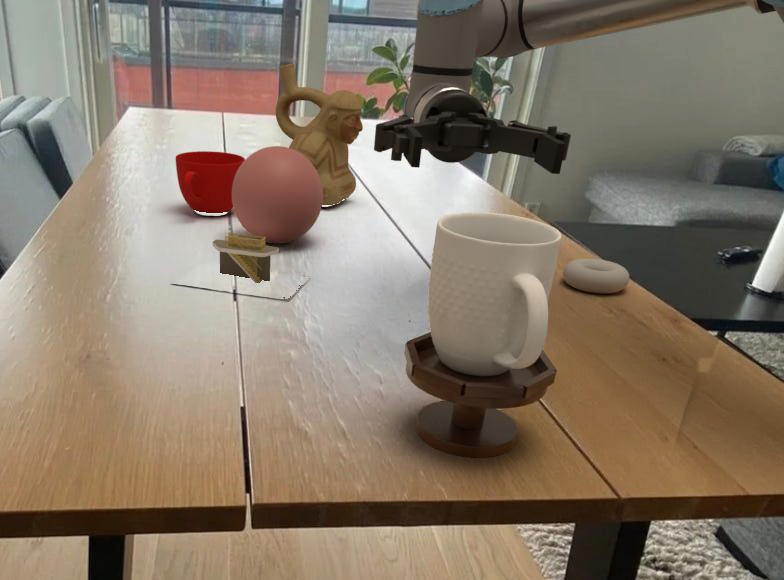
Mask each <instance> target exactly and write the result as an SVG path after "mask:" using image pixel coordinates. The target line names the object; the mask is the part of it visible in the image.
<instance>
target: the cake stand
mask: <svg viewBox="0 0 784 580" xmlns="http://www.w3.org/2000/svg"><path fill="white" fill-rule="evenodd" d="M403 353H404V354H403V355H404V357H405V361H406V364H405V374H406V375H407V378H408V380H409V381H410V383H412V384H413V385H414V386H415V387H417V388H418V390H421V391H422V392H424V393H426V394H428V395H430V396H433V397H434V398H436V399H439V401H435V402H431V403H428V404H426V405H425V406H423V407H422V408H421V409H419V411H418V414H417V417H416V425H415V430H416V432H417V435H418V436H419V438H421V440H422V441H424V442H425V443H426V444H428V445H429V446H430V447H433V448H434V449H436V450H439V451H441V452H444V453H447V454H451V455H454V456H459V457H466V458H490V457H496V456H501V455H503V454H505V453H507V452H509V451H510V450H511V449H512V448H513V447H514V445H515V443H516V439H517V435H518V426H517V424H516V422H515V421H514V419H512V418H511V417H510V416H509V415H508V414H507V413H505V412H504V411H501V409H503V410H505V409H514V408H521V407H526V406H529V405H532V404H535V403H536V402H538V401H539V400H541V399H542V398H543V397H544V396H545V395H546V393H547V391H548V387H550V386H552V385H553V384H555V380H556V376H557V371H558V370H557V368H556V367H555V365H554V364H553V362H552V361H551V359H550V358H549V357H548V356H547V353H546V352H545V351H544V348H543V349H542V352H541V354H540V356H539V357H538V359H537V360H536V361H535V362H534V363H533V364H532V365H530V366H528V367H525V368H521V369H511V368H510V369H509V370H507V371H506V372H504V373H502V374H499V375H495V376H473V375H467V374H463V373H459V372H456V371H454V370H452V369H450V368H448V367H447V366H446V365H444V364H443V363H442V361H441V360H440V358H439V356H438V354H437V352H436V349H435V346H434V344H433V340H432V336H431V331H429V332H426V333H424V334H421V335H419V336H416V337H413V338H411V339H408V340H406V342H405V345H404V351H403Z"/></svg>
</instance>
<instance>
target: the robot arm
mask: <svg viewBox="0 0 784 580" xmlns="http://www.w3.org/2000/svg"><path fill="white" fill-rule="evenodd" d="M744 7H751V8H752V9H753V10H754V11H755V12H756V13H757V14H759V15H763V14H768V13H773V12H776V13H777V14H778V16H779V18H780V20H781V21H782V23H783V24H784V0H419V2H418V4H417V16H416V17H417V18H416V29H415V39H414V50H413V60H412V70H411V76H410V86H409V92H408V93H407V96H406V97H405V101H404V106H403V114H400V115H398V117H397V118H394V119H391V120H386V121H384V122H379V123H377V124H375V132H374V142H373V143H374V144H373V151H375V152H376V153H382V152H386V151H389V150H391V156H390V160H391V161H393V162H402V159H403V157H404V158H405V160H406V161H407V163H408V164H409V166H410V167H411V168H420V165H421V157H422V150H425V151H427V152H428V153H429V154H430V155H431V156H432V157H433V158H434V159H436V160H437V161H440V162H443V163H447V164H448V163H449V164H455V163H461V162H462V161H466V160H468V159H469V158H470V157H472V156H474V154H476V153H481V154H486V155H494V154H498V153H499V152H500V153H505V154H511V155H516V156H521V157H525V158H531V159H533V162H534V163H536V164H537V165H538V166H539V167H541V168H543V169H544V170H546V171H547V172H549V173H550V174H552V175H560V174H561V171H562V170H561V169H562V163H563V161H566V160H567V156H568V152H569V147H570V143H571V137H572V134H571V133H569V132H565V131H563V132H562V131H558V126H557V125H551V126H547V128H543V127H539V126H535V125H530V124H525V123H523V122H520V121H518V120H516V119H514V120H513V119H512V120H509V121H508V123H507V125H505V123H504V120H503V119H499V118H493V117H488V115H487V111H486V109H485V107H484V105H483V104H482V103H481V101H480V100H479V99H478V98H477V97H476V96H474V95H473V94H471V93H470V91H471V89H470V88H471V83H472V76H473V71H474V65H475V58H498V59H504V58H513V57H516V56H518V55H522V54H524V53H525V52H529V51H533V50H535V49H536V50H537V49H541V48H542V49H543V48H546V47H551V46H552V47H553V46H556V45H557V46H558V45H562V44H566V43H572V42H577V41H581V40H586V39H591V38H596V37H601V36H607V35H612V34H616V33H621V32H626V31H631V30H634V29H635V30H636V29H641V28H645V27H650V26H656V25H660V24H661V25H662V24H666V23H671V22H675V21H680V20H685V19H690V18H691V19H692V18H694V17H701V16H705V15H710V14H717V13H720V12H724V11H730V10H735V9H740V8H744Z"/></svg>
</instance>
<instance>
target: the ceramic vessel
mask: <svg viewBox="0 0 784 580" xmlns="http://www.w3.org/2000/svg"><path fill="white" fill-rule="evenodd" d="M278 69H279V72H280V76H281V80H282V85H283V92H282V93H281V94H280V96H279V97H278V99H277V101H276V105H275V118H276V119H275V120H276V122H277V125H278V127H279V129H280V130H281V132H283V134H285V135H286V137H288V138H289V139H290V140H292V141H291V142H290V145H288V148H291V149H293V150H296V151H298V152H299V153H301V154H302V155H304V156H305V157H306V158H307V159H308V160H309V161H310V162H311V163H312V164H313V166H314V167H315V169H316V170H317V172H318V175H319V177H320V180H321V183H322V189H323V202H322V205H333V204H337V203H339V202H341V201H342V200H343V199H346V198H348V199H349V198H350V196H351V195H352V194H353V193H354V192H355V190H356V188H357V179H356V176H355V175H354V173H353V171H352V170H351V169H350V167H349V145H351V144H353V143H354V141H355V140H357V139H358V137H359V135H360V133H361V132H362V131H363V129H364V126H363V122H362V119H361V118H362V110H363V108H364V106H363V103H362V101H361V99H360V97H359V96H358V95H357V94H356V93H354V92H352V91H350V90H345V89H339V90H336V91H334V92H332V93H331V94H329V93H327V92H324V91H322V90H319V89H317V88H313V87H307V86H299V85H298V83H297V77H296V68H295V63H287V64H284V65H280V66H279V67H278ZM301 101H308V102H311V103H313V104H314V105H316V106H317V107H318V108H320V110H319V112H318V113H317V115H316V116H315V117H314V118H313V119H312V120H311V121H310V122H309V123H307V125H305V126H300V125H298V124H296V123H295V122H293V120H292V119H291V117H290V114H289V109H290V106H291V105H292V104H294V103H295V102H301ZM341 203H342V202H341ZM339 204H340V203H339Z"/></svg>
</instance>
